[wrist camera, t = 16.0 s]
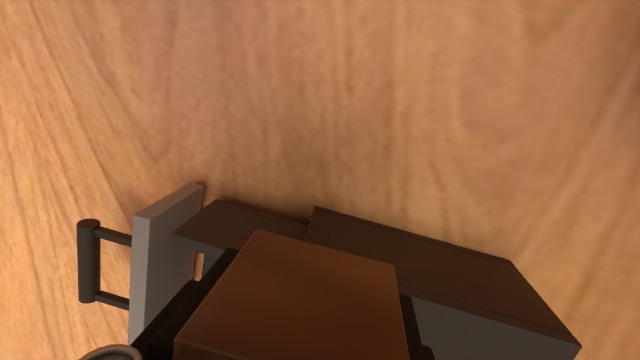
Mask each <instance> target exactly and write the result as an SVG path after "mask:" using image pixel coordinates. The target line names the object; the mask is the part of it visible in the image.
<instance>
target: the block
mask: <svg viewBox="0 0 640 360" xmlns="http://www.w3.org/2000/svg"><path fill="white" fill-rule="evenodd" d="M172 360H410V359H409V353H408V347H407V341H406V335H405V329H404V323H403V317H402V312H401V306H400V300H399V294H398V288H397V282H396V276H395V270H394V266H393V265H390V264H387V263H383V262H379V261H375V260H372V259H368V258H364V257H360V256H357V255H353V254H349V253H345V252H341V251H338V250H334V249H330V248H326V247H323V246H319V245H315V244H311V243H308V242H304V241H300V240H296V239H292V238H289V237H285V236H281V235H277V234H274V233H270V232H266V231H262V230H259V229H258V230H256V231H255V232H254V233H253V235H252V236H251V237H250V239H249V240H248V241H247V243H246V244H245V245H244V247H243V248H242V249H241V251H240V252H239V253H238V255H237V256H236V257H235V259H234V260H233V261H232V263H231V264H230V265H229V267H228V268H227V269H226V271H225V272H224V273H223V275H222V276H221V277H220V279H219V280H218V281H217V283H216V284H215V285H214V287H213V288H212V289H211V291H210V292H209V293H208V295H207V296H206V297H205V299H204V300H203V301H202V303H201V304H200V305H199V307H198V308H197V309H196V311H195V312H194V313H193V315H192V316H191V317H190V318H189V320H188V321H187V322H186V324H185V325H184V326H183V328H182V329H181V330H180V332H179V333H178V334H177V336H176V337H175V339H174V344H173V357H172Z"/></svg>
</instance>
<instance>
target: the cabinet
mask: <svg viewBox="0 0 640 360" xmlns="http://www.w3.org/2000/svg"><path fill="white" fill-rule="evenodd" d="M302 241H304V242H308V243H311V244H315V245H319V246H323V247H326V248H330V249H334V250H338V251H341V252H345V253H349V254H353V255H357V256H360V257H364V258H368V259H372V260H375V261H379V262H383V263H387V264H390V265H393V266H394V270H395V276H396V282H397V288H398V293H400V294H404V295H407V296H410V297H411V298H412V302H413V307H414V311H415V316H416V320H417V324H418V329H419V333H420V338H421V342H422V345H426V346H429V347H430V348H431V349H432V351H433V354H434V357H435V360H574V358H575V357H576V355H577V354H578V352H579V351H580V350H581V348H582V345H581V344H580V343H579V342H578V340H577V339H576V338H575V337H574V336H573V335H572V334H571V332H570V331H569V330H568V329H567V328H566V326H565V325H564V324H563V323H562V322H561V320H560V319H559V318H558V317H557V316H556V315H555V313H554V312H553V311H552V310H551V309H550V307H549V306H548V305H547V304H546V303H545V301H544V300H543V299H542V298H541V297H540V296H539V294H538V293H537V292H536V291H535V290H534V288H533V287H532V286H531V285H530V284H529V283H528V281H527V280H526V279H525V278H524V277H523V275H522V274H521V273H520V272H519V271H518V269H517V268H516V267H515V266H514V264H513V263H512V262H511V261H510V260H506V259H502V258H499V257H495V256H492V255H488V254H485V253H481V252H477V251H474V250H470V249H467V248H463V247H460V246H456V245H452V244H449V243H445V242H442V241H438V240H435V239H431V238H427V237H424V236H420V235H417V234H413V233H410V232H406V231H403V230H399V229H395V228H392V227H388V226H385V225H381V224H378V223H374V222H370V221H367V220H363V219H360V218H356V217H353V216H349V215H345V214H342V213H338V212H335V211H331V210H328V209H324V208H320V207H317V206H316V207H315V209H314V212H313V214H312V217H311V219H310V222H309V225H308V227H307V230H306V232H305V235H304V237H303V240H302Z"/></svg>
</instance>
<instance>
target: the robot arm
mask: <svg viewBox="0 0 640 360" xmlns="http://www.w3.org/2000/svg"><path fill="white" fill-rule="evenodd" d="M240 251H241V250H238V249H234V248H231V247H228V248H227V249H226V250H225V251H224V252H223V254H222V255H221V256H220V257H219V258H218V260H217V261H216V262H215V263H214V264H213V265H212V267H211V268H210V269H209V270H208V271H207V273H206V274H205V275H204V276H203V277H202V278H201V280H200V281H199V282H198V281H195V280H190V281H188V282H187V283H186V284H185V285H184V286H183V287H182V288H181V289H180V291H179V292H178V293H177V294H176V295H175V296H174V297H173V298H172V299H171V300H170V302H169V303H168V304H167V305H166V306H165V307H164V308H163V309H162V310H161V312H160V313H159V314H158V315H157V316H156V317H155V318H154V319H153V320H152V321H151V323H150V324H149V325H148V326H147V327H146V328H145V329H144V330H143V331H142V332H141V334H140V335H139V336H138V337H137V338H136V339H135V340H134V341H133V342H132V344H131V345H130V346H129V345H124V344H114V345H108V346H104V347H100V348H98V349H95V350H93V351H91V352H89V353H87V354H86V355H84V356H83V357H82V358H80V359H79V360H172V357H173V344H174V339H175V337H176V336H177V334H178V333H179V332H180V330H181V329H182V328H183V326H184V325H185V324H186V322H187V321H188V320H189V318H190V317H191V316H192V315H193V313H194V312H195V311H196V309H197V308H198V307H199V305H200V304H201V303H202V301H203V300H204V299H205V297H206V296H207V295H208V293H209V292H210V291H211V289H212V288H213V287H214V285H215V284H216V283H217V281H218V280H219V279H220V277H221V276H222V275H223V273H224V272H225V271H226V269H227V268H228V267H229V265H230V264H231V263H232V261H233V260H234V259H235V257H236V256H237V255H238V253H239V252H240ZM398 294H399V300H400V306H401V312H402V317H403V323H404V329H405V335H406V341H407V347H408V353H409V359H410V360H435V357H434V354H433V351H432V349H431V348H430V347H429V346H426V345H422V342H421V338H420V333H419V329H418V324H417V320H416V316H415V311H414V307H413V302H412V298H411V297H410V296H407V295H404V294H400V293H398Z"/></svg>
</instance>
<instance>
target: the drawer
mask: <svg viewBox="0 0 640 360" xmlns="http://www.w3.org/2000/svg"><path fill="white" fill-rule="evenodd" d="M202 194H203V186H202V185H198V184H194V183H189V184H187V185H185V186H183V187H182V188H180V189H178V190H176V191H174V192H173V193H171V194H169V195H167V196H166V197H164V198H162V199H160V200H158V201H157V202H155V203H153V204H151V205H150V206H148V207H146V208H144V209H142V210H141V211H139V212H137V213H135V214H134V215H133V222H132V236H131V235H128V234H125V233H121V232H118V231H114V230H111V229H108V228H104V227H100V221H99V220H97V219H84V220H81V221H79V222H78V223H77V256H78V290H79V301H80V302H81V303H92V302H95V301H99V302H102V303H105V304H109V305H112V306H115V307H118V308H121V309H125V310H128V311H129V324H128V345H129V346H130V345H131V344H132V342H133V341H134V340H135V339H136V338H137V337H138V336H139V335H140V334H141V332H142V331H143V330H144V329H145V328H146V327H147V326H148V325H149V324H150V323H151V321H152V320H153V319H154V318H155V317H156V316H157V315H158V314H159V313H160V312H161V310H162V309H163V308H164V307H165V306H166V305H167V304H168V303H169V302H170V300H171V299H172V298H173V297H174V296H175V295H176V294H177V293H178V292H179V291H180V289H181V288H182V287H183V286H184V285H185V284H186V283H187V282H188V281H190V280H192V277H193V269H194V260H195V252H199V253H202V254H205V255H204V263H203V270H202V277H203V276H204V275H205V274H206V273H207V271H208V270H209V269H210V268H211V267H212V265H213V264H214V263H215V262H216V261H217V260H218V258H219V257H220V256H221V255H222V254H223V252H224V251H225V250H226V249H227V248H228V247H231V248H234V249H238V250H241V249H242V248H243V247H244V245H245V244H246V243H247V241H248V240H249V239H250V237H251V236H252V235H253V233H254V232H255V231H256V230H258V229H259V230H262V231H266V232H270V233H274V234H277V235H281V236H285V237H289V238H292V239H296V240H300V241H302V240H303V237H304V235H305V232H306V230H307V227H308V225H306V224H302V223H298V222H295V221H291V220H288V219H284V218H281V217H277V216H274V215H270V214H267V213H263V212H260V211H256V210H253V209H249V208H246V207H242V206H239V205H235V204H232V203H228V202H225V201H221V200H218V199H215V200H214V201H213V202H212V203H210V204H209V205H207V206H206V207H205V208H203V209H202V210H201V202H202ZM100 238H102V239H105V240H109V241H112V242H115V243H119V244H122V245H125V246H129V247H132V248H131V273H130V299H127V298H124V297H121V296H118V295H114V294H111V293H108V292H105V291H100Z"/></svg>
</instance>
